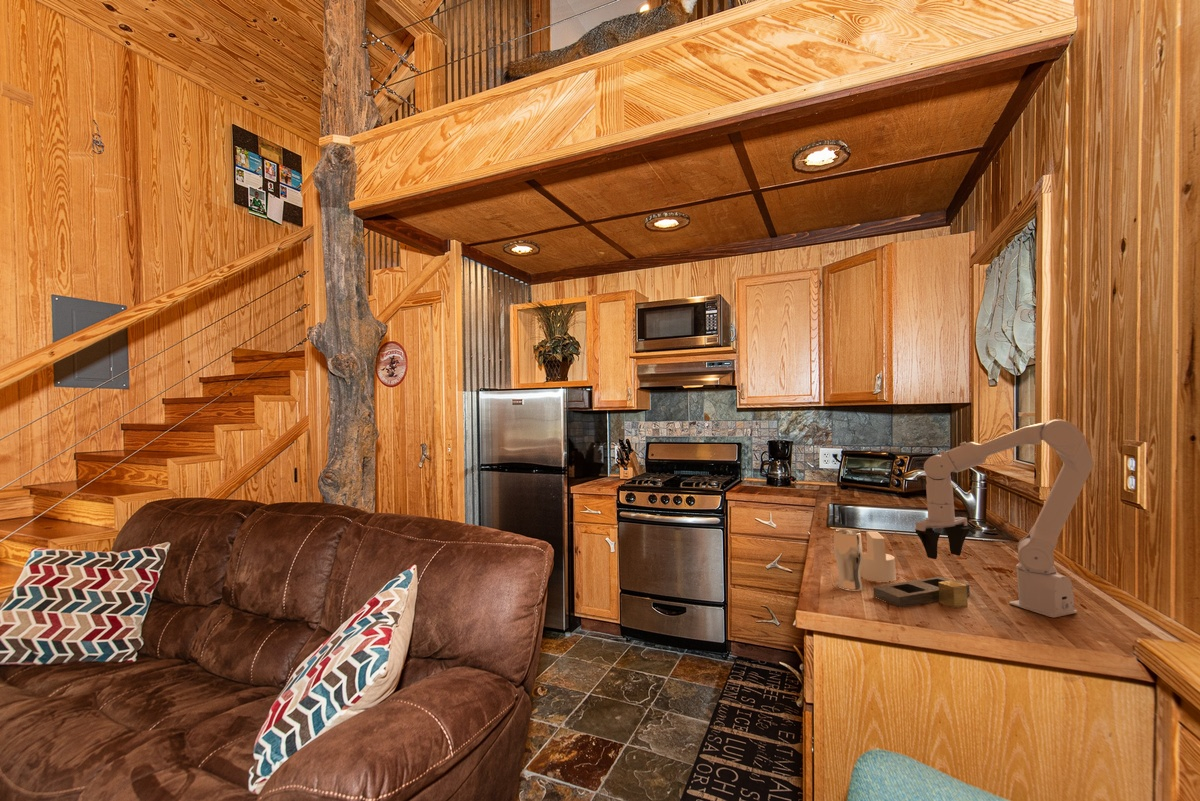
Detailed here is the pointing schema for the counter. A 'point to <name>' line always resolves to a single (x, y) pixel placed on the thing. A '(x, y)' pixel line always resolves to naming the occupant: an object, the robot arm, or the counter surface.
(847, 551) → the beer glass
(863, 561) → the cylinder with rectangular tab
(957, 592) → the golden brown block
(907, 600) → the grey slotted board
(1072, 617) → the counter surface
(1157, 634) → the counter surface
